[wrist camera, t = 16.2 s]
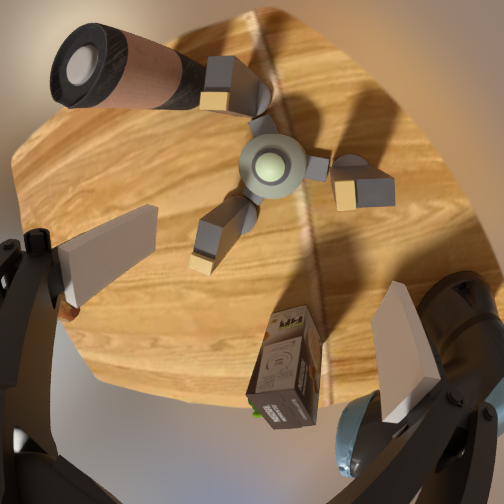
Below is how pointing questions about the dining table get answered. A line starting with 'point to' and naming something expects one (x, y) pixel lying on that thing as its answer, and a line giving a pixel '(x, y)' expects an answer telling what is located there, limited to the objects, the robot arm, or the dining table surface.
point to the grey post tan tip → (233, 89)
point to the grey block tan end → (221, 232)
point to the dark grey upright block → (360, 184)
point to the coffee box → (288, 371)
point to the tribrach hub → (276, 163)
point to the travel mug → (123, 72)
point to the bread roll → (66, 310)
